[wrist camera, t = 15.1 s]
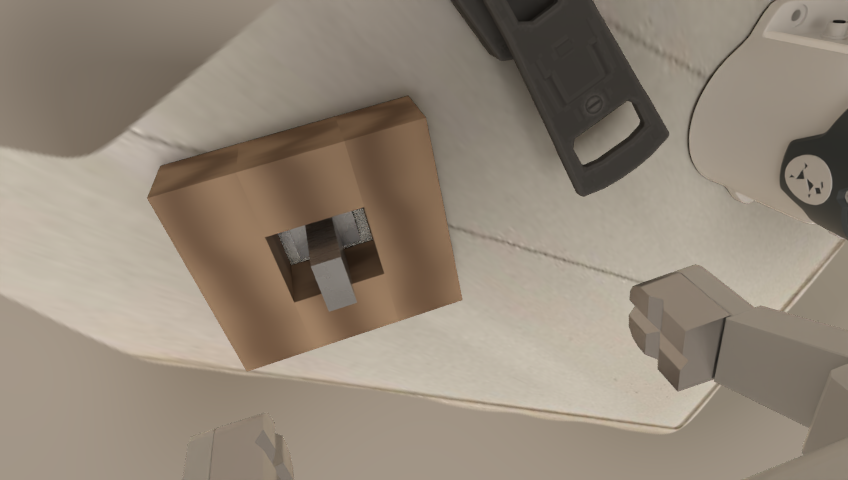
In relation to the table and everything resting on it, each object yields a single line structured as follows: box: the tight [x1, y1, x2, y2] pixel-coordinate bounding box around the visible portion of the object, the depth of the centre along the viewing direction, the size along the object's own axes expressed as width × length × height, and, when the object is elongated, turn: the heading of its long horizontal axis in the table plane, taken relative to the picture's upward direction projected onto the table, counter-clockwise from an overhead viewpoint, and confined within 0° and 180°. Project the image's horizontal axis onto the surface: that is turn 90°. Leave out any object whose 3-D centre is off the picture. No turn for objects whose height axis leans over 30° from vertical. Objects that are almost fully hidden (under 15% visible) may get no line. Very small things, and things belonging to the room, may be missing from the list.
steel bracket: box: [289, 211, 361, 312], centre depth 38 cm, size 5×4×8 cm
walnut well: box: [147, 96, 462, 371], centre depth 39 cm, size 18×16×5 cm
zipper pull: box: [451, 0, 669, 197], centre depth 34 cm, size 9×7×25 cm
